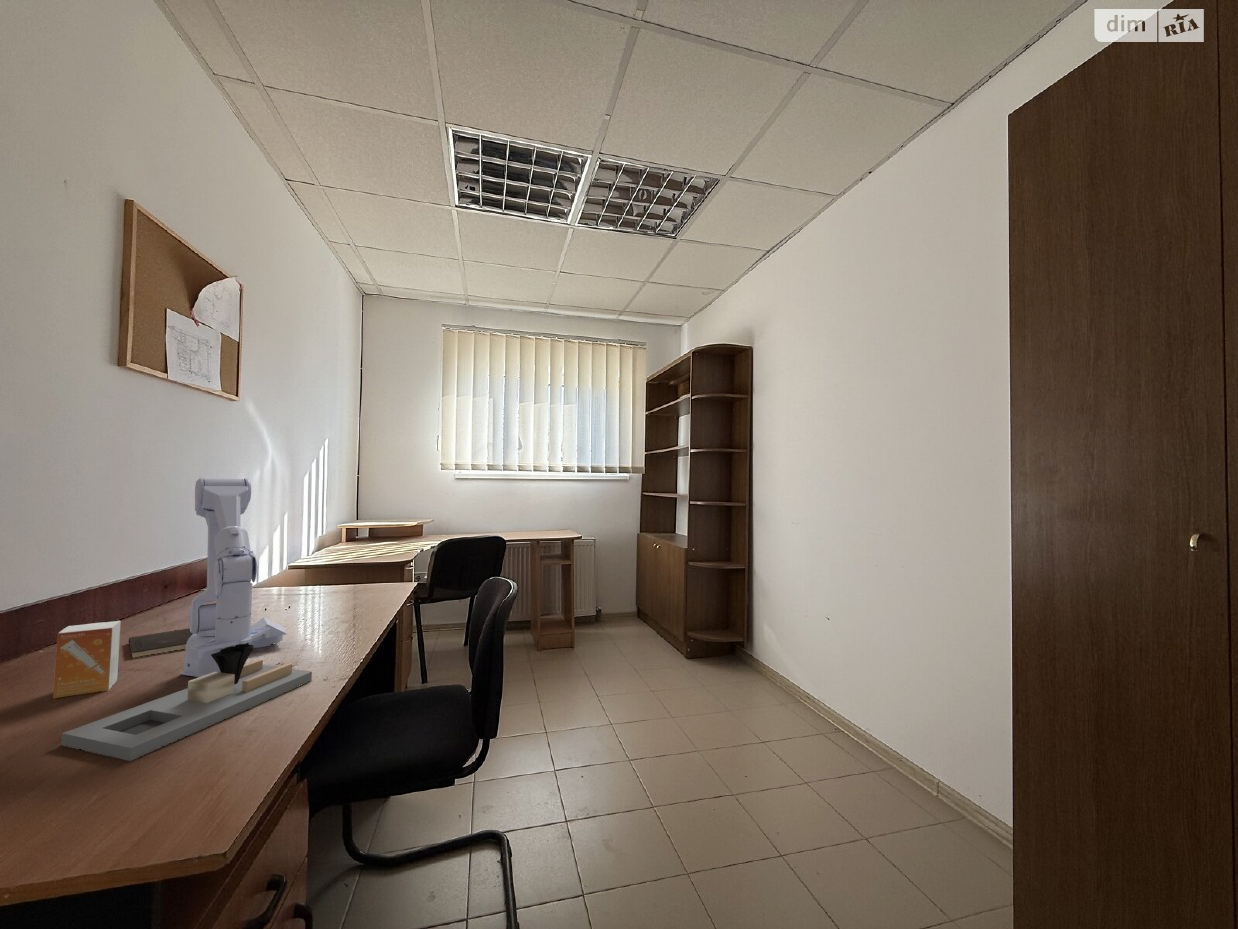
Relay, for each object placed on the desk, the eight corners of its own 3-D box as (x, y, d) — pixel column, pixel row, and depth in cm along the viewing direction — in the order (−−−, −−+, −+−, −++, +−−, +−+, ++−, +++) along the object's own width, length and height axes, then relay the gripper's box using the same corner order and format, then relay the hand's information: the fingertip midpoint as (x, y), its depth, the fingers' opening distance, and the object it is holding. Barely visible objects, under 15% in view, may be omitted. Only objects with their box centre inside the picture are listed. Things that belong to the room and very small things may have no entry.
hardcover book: (247, 640, 138) (247, 632, 138) (130, 661, 122) (131, 651, 122) (236, 628, 149) (236, 620, 149) (128, 645, 133) (128, 637, 133)
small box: (52, 699, 99) (56, 633, 99) (64, 688, 104) (67, 625, 105) (109, 690, 103) (112, 627, 104) (118, 680, 109) (121, 619, 109)
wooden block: (187, 699, 95) (188, 681, 95) (214, 689, 100) (215, 671, 100) (207, 703, 94) (208, 684, 94) (233, 692, 99) (234, 674, 99)
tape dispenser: (287, 647, 132) (280, 635, 142) (288, 621, 132) (281, 611, 142) (244, 654, 126) (240, 641, 136) (245, 627, 126) (241, 616, 136)
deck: (61, 745, 82) (62, 720, 82) (255, 672, 114) (255, 655, 114) (130, 761, 78) (131, 735, 78) (311, 681, 110) (312, 662, 110)
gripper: (211, 627, 93) (208, 701, 93) (282, 608, 107) (279, 673, 107) (183, 624, 95) (180, 696, 95) (256, 606, 109) (253, 669, 109)
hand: (231, 683), depth 101 cm, fingers closed
